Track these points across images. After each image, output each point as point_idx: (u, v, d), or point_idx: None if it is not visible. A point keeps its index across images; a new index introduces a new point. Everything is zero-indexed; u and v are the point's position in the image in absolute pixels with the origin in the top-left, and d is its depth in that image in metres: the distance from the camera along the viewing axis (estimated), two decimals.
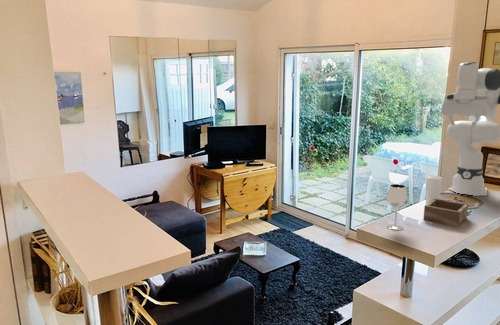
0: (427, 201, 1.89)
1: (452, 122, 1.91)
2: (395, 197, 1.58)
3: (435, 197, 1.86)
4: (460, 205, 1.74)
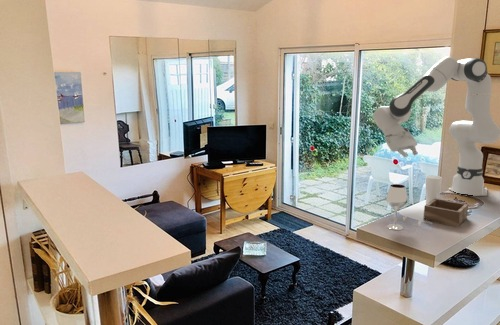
0: (427, 201, 1.89)
1: None
2: (395, 197, 1.58)
3: (435, 197, 1.86)
4: (460, 205, 1.74)
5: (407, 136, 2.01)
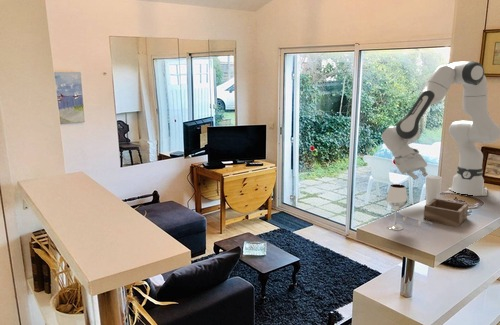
0: (427, 201, 1.89)
1: None
2: (395, 197, 1.58)
3: (435, 197, 1.86)
4: (460, 205, 1.74)
5: (417, 156, 1.98)
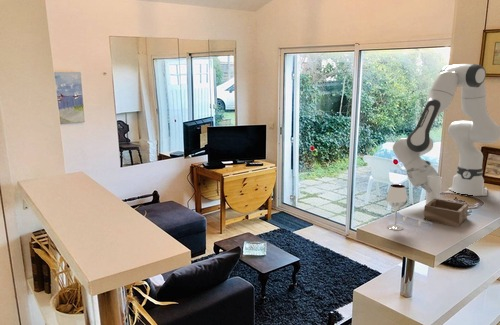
0: (427, 201, 1.89)
1: None
2: (395, 197, 1.58)
3: (435, 197, 1.86)
4: (460, 205, 1.74)
5: (429, 169, 1.94)
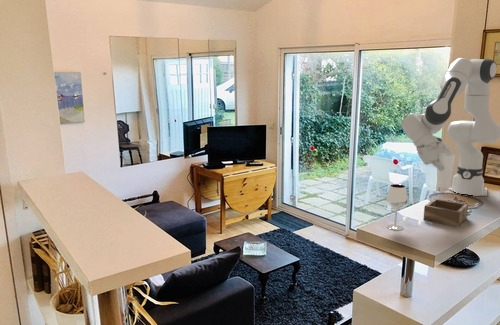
0: (438, 181, 1.73)
1: None
2: (395, 197, 1.58)
3: (447, 176, 1.70)
4: (460, 205, 1.74)
5: (441, 146, 1.78)
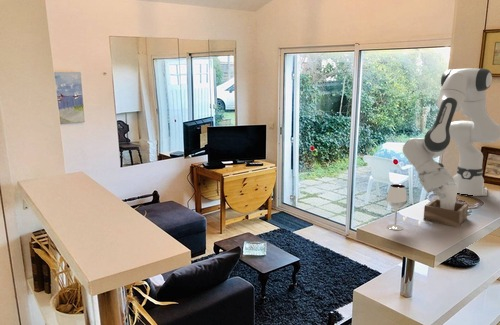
0: None
1: None
2: (395, 197, 1.58)
3: (451, 205, 1.70)
4: (460, 205, 1.74)
5: (442, 172, 1.77)
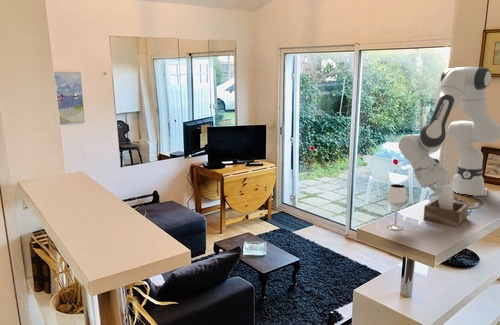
0: None
1: None
2: (395, 197, 1.58)
3: (449, 203, 1.71)
4: (460, 205, 1.74)
5: (438, 167, 1.78)
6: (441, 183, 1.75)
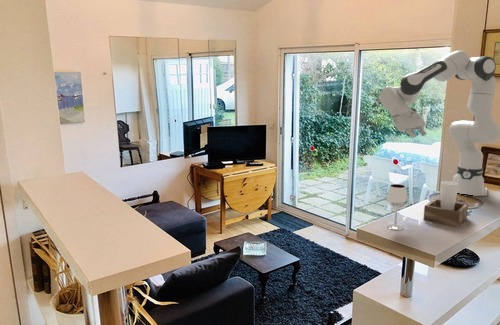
0: None
1: None
2: (395, 197, 1.58)
3: (451, 204, 1.71)
4: (460, 205, 1.74)
5: (415, 116, 1.93)
6: (446, 184, 1.76)
